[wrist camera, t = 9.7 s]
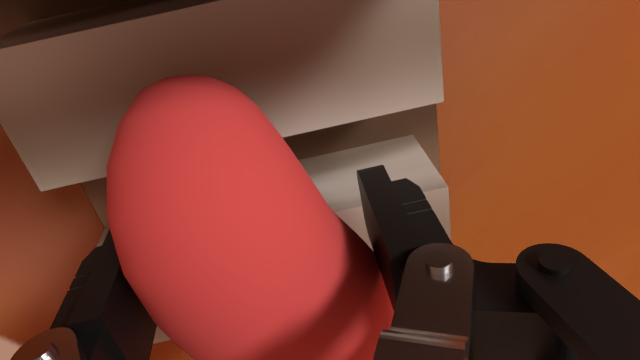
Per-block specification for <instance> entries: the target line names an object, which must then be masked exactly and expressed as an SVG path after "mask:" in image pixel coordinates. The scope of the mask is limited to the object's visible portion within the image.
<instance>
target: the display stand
mask: <svg viewBox="0 0 640 360" xmlns="http://www.w3.org/2000/svg"><path fill="white" fill-rule="evenodd" d="M0 35H1V37H0V124H1V126H2V128H3V129H4V131H5V133H6V134H7V136H8V138H9V139H10V141H11V143H12V144H13V146H14V148H15V149H16V151H17V153H18V154H19V156H20V158H21V159H22V161H23V163H24V164H25V166H26V168H27V169H28V171H29V173H30V174H31V176H32V178H33V179H34V181H35V183H36V184H37V186H38V188H39V189H40V191H45V190H50V189H54V188H59V187H63V186H68V185H72V184H77V183H81V185H82V187H83V189H84V191H85V193H86V194H87V196H88V198H89V200H90V202H91V204H92V206H93V207H94V209H95V211H96V213H97V215H98V217H99V219H100V220H101V222H102V224H103V226H104V228H105V229H104V231H103V233H102V235H101V237H100V240H99V242H98V244H97V246H96V247H98V246H102V244H103V242H104V240H105V238H106V235H107V233H108V231H109V229H110V227H109V224H108V220H107V164H108V160H109V157H110V153H111V150H112V146H113V143H114V139H115V136H116V132H117V129H118V125H119V122H120V121H121V119H122V118H123V116H124V115H125V113H126V112H127V110H128V108H129V107H130V105H131V104H132V102H133V101H134V99H135V98H136V96H137V95H138V93H139V92H140V91H141V90H142V89H144V88H146V87H148V86H150V85H152V84H154V83H156V82H158V81H160V80H162V79H164V78H167V77H171V76H181V75H203V76H209V77H212V78H215V79H218V80H220V81H222V82H225V83H227V84H229V85H232V86H234V87H236V88H237V89H239V90H240V91H241V92H242V93H243V94H245V95H246V96H247V97H248V98H249V99H250V100H251V101H253V102H254V103H255V104H256V105H257V106H258V107H259V108H260V110H261V111H262V112H263V113H264V115H265V116H266V117H267V118H268V119H269V121H270V122H271V123H272V124H273V126H274V127H275V128H276V130H277V131H278V132H279V134H280V135H281V136H282V138H283V139H284V140H285V142H286V143H287V145H288V146H289V147H290V149H291V150H292V152H293V153H294V155H295V156H296V157H297V159H298V160H299V162H300V163H301V165H302V166H303V168H304V169H305V171H306V172H307V174H308V175H309V177H310V178H311V180H312V181H313V183H314V184H315V186H316V187H317V189H318V190H319V192H320V193H321V195H322V197H323V198H324V200H325V201H326V203H327V204H328V205H329V207H330V208H331V209H332V210H333V212H334V213H335V214H336V215H337V216H338V217H339V218H341V219H342V220H343V221H344V222H345V223H346V224H347V225H348V226H349V227H350V228H352V229H353V230H354V231H355V232H356V233H357V234H358V235H359V236H360V237H361V238H362V239H363V240H364V241H365V242H366V243H367V245H368V246H369V247H370V248H371V249H372V250H373V248H372V245H371V242H370V239H369V236H368V232H367V228H366V224H365V219H364V214H363V208H362V202H361V197H360V191H359V185H358V179H357V170H361V169H365V168H370V167H374V166H379V165H384V167H385V169H386V171H387V173H388V175H389V177H390V180H391V181H395V180H399V179H404V178H407V179H409V180H410V181H412V182H413V183H415V184H417V185H418V186H420V188H421V190H422V191H423V193H424V195H425V197H426V200H428V202H429V204H430V205H431V207H432V210H433V211H434V212H435V214H436V216H437V218H438V219H439V221H440V223H441V225H442V226H443V228H444V230H445V231H446V233H447V235H448V237H449V238H450V240H451V230H450V210H449V191H448V186H447V184H446V183H445V181H444V180H443V178H442V177H441V175H440V161H439V145H438V128H437V112H436V103H440V102H444V94H443V75H442V55H441V36H440V16H439V0H0ZM168 340H171V339H170V338H169V337H168V336H167V335H166V334H165V333H164V332H163V331H162V330H161V329H160V328H159V327H158V326H157V328H156V332H155V336H154V341H153V344H155V343H160V342H164V341H168Z"/></svg>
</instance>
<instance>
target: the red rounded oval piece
mask: <svg viewBox="0 0 640 360" xmlns="http://www.w3.org/2000/svg"><path fill="white" fill-rule="evenodd" d="M107 220H108V224H109V227H110V231H111V234H112V237H113V241H114V244H115V248H116V251H117V255H118V258H119V262H120V265H121V269H122V272H123V275H124V276H125V278H126V279H127V281H128V283H129V284H130V286H131V287H132V289H133V290H134V292H135V294H136V295H137V297H138V298H139V300H140V301H141V303H142V304H143V306H144V308H145V309H146V311H147V312H148V314H149V315H150V317H151V319H152V320H153V322H154V323H155V324H156V325H157V326H158V327H159V328H160V329H161V330H162V331H163V332H164V333H165V334H166V335H167V336H168V337H169V338H170V339H171V340H172V341H173V342H174V343H176V344H177V345H178V346H179V347H180V348H181V349H182V350H184V351H185V352H186V353H187V354H189V355H190V356H191V357H192V358H194V359H195V360H373V357H374V353H375V349H376V346H377V342H378V338H379V336H380V333H381V331H382V330H384V329H385V330H389V329H390V326H391V323H392V319H393V314H394V311H393V308H392V305H391V302H390V299H389V296H388V293H387V290H386V287H385V284H384V281H383V278H382V275H381V272H380V269H379V266H378V262H377V259H376V257H375V254H374V251H373V250H372V249H371V248H370V247H369V246H368V245H367V243H366V242H365V241H364V240H363V239H362V238H361V237H360V236H359V235H358V234H357V233H356V232H355V231H354V230H353V229H352V228H350V227H349V226H348V225H347V224H346V223H345V222H344V221H343V220H342V219H341V218H339V217H338V216H337V215H336V214H335V213H334V212H333V210H332V209H331V208H330V207H329V205H328V204H327V203H326V201H325V200H324V198H323V197H322V195H321V193H320V192H319V190H318V189H317V187H316V186H315V184H314V183H313V181H312V180H311V178H310V177H309V175H308V174H307V172H306V171H305V169H304V168H303V166H302V165H301V163H300V162H299V160H298V159H297V157H296V156H295V155H294V153H293V152H292V150H291V149H290V147H289V146H288V145H287V143H286V142H285V140H284V139H283V138H282V136H281V135H280V134H279V132H278V131H277V130H276V128H275V127H274V126H273V124H272V123H271V122H270V121H269V119H268V118H267V117H266V116H265V115H264V113H263V112H262V111H261V110H260V108H259V107H258V106H257V105H256V104H255V103H254V102H253V101H251V100H250V99H249V98H248V97H247V96H246V95H245V94H243V93H242V92H241V91H240V90H239V89H237V88H236V87H234V86H232V85H229V84H227V83H225V82H222V81H220V80H218V79H215V78H212V77H209V76H203V75H181V76H171V77H167V78H164V79H162V80H160V81H158V82H156V83H154V84H152V85H150V86H148V87H146V88H144V89H142V90H141V91H140V92H139V93H138V95H137V96H136V98H135V99H134V101H133V102H132V104H131V105H130V107H129V108H128V110H127V112H126V113H125V115H124V116H123V118H122V119H121V121H120V122H119V125H118V129H117V132H116V136H115V139H114V143H113V146H112V150H111V153H110V157H109V160H108V164H107Z"/></svg>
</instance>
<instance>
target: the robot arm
mask: <svg viewBox="0 0 640 360" xmlns="http://www.w3.org/2000/svg"><path fill="white" fill-rule="evenodd" d="M357 179H358V185H359V191H360V197H361V202H362V208H363V214H364V219H365V224H366V228H367V232H368V236H369V239H370V242H371V245H372V248H373V251H374V254H375V257H376V259H377V262H378V266H379V269H380V272H381V275H382V278H383V281H384V284H385V287H386V290H387V293H388V296H389V299H390V302H391V305H392V308H393V311H394V314H393V319H392V323H391V326H390V329H389V330H385V329H384V330H382V331H381V333H380V336H379V338H378V342H377V346H376V349H375V353H374V357H373V360H640V300H639V299H637V298H636V297H635V296H634V295H632V294H631V293H630V292H629V291H628V290H626V289H625V288H624V287H623V286H621V285H620V284H619V283H618V282H617V281H615V280H614V279H613V278H612V277H610V276H609V275H608V274H607V273H606V272H604V271H603V270H602V269H601V268H599V267H598V266H597V265H596V264H595V263H593V262H592V261H591V260H590V259H588V258H587V257H586V256H585V255H583V254H582V253H580V252H579V251H577V250H575V249H573V248H570V247H567V246H564V245H559V244H550V243H547V244H537V245H533V246H530V247H528V248H526V249H525V250H523V251H522V252H521V253H520V254H519V255H518V257H517V260H516V263H486V262H480V261H477V260H473V259H472V258H471V256H470V255H469V254H468V253H467V252H466V251H465V250H464V249H462V248H460V247H458V246H455V245H453V244H452V242H451V240H450V238H449V237H448V235H447V233H446V231H445V230H444V228H443V226H442V225H441V223H440V221H439V219H438V218H437V216H436V214H435V212H434V211H433V210H432V207H431V205H430V204H429V202H428V200H426V197H425V195H424V193H423V191H422V190H421V188H420V186H418V185H417V184H415V183H413V182H412V181H410V180H409V179H407V178H404V179H399V180H395V181H391V180H390V177H389V175H388V173H387V171H386V169H385V167H384V165H379V166H374V167H370V168H365V169H361V170H357ZM156 328H157V325H156V324H155V323H154V322H153V320H152V319H151V317H150V315H149V314H148V312H147V311H146V309H145V308H144V306H143V304H142V303H141V301H140V300H139V298H138V297H137V295H136V294H135V292H134V290H133V289H132V287H131V286H130V284H129V283H128V281H127V279H126V278H125V276H124V275H123V272H122V269H121V265H120V262H119V258H118V255H117V251H116V248H115V244H114V241H113V237H112V234H111V231H110V229H109V231H108V233H107V235H106V238H105V240H104V242H103V244H102V246H98V247H96V248H95V249H94V250H93V251H92V252H91V253H90V254H89V255H88V256H87V257H86V258H85V259H84V260H83V261H82V263H81V265H80V267H79V269H78V271H77V273H76V278H75V279H74V280H73V282H72V284H71V286H70V291H68V292H67V294H66V296H65V298H64V301H63V303H62V305H61V307H60V309H59V311H58V313H57V315H56V317H55V319H54V321H53V323H52V325H51V328H50V330H47V331H44V332H42V333H40V334H38V335H36V336H34V337H33V338H31V339H30V340H28V341H27V342H26V343H25V344H23V345H22V346H21V347H20V348H19V349H18V351H16V353H15V354H14V355H13V357H12V358H11V360H149V358H150V354H151V349H152V345H153V341H154V336H155V332H156Z"/></svg>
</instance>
